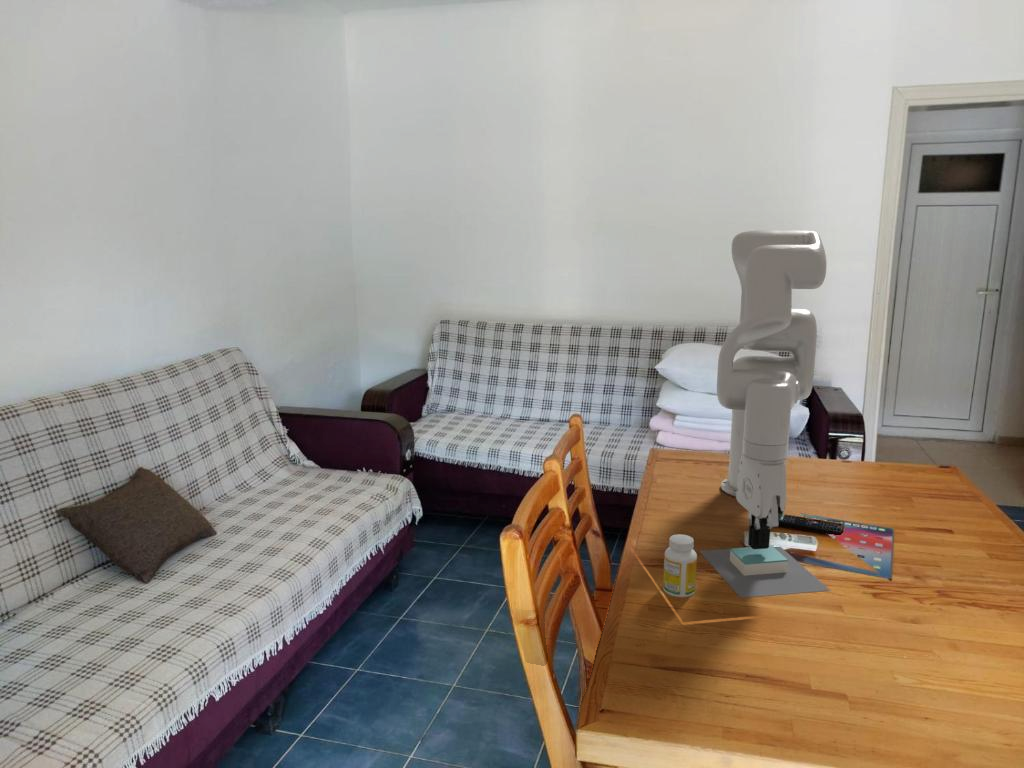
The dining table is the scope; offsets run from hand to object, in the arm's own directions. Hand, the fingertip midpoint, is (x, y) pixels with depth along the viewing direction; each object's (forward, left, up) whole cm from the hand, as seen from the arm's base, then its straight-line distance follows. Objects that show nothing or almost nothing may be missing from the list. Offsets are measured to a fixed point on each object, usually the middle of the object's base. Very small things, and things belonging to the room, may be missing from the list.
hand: (758, 546), depth 134 cm
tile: (-3, 0, -3) cm, 4 cm away
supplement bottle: (+6, -17, -4) cm, 19 cm away
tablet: (-7, +20, -5) cm, 22 cm away
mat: (+1, 0, -4) cm, 4 cm away
